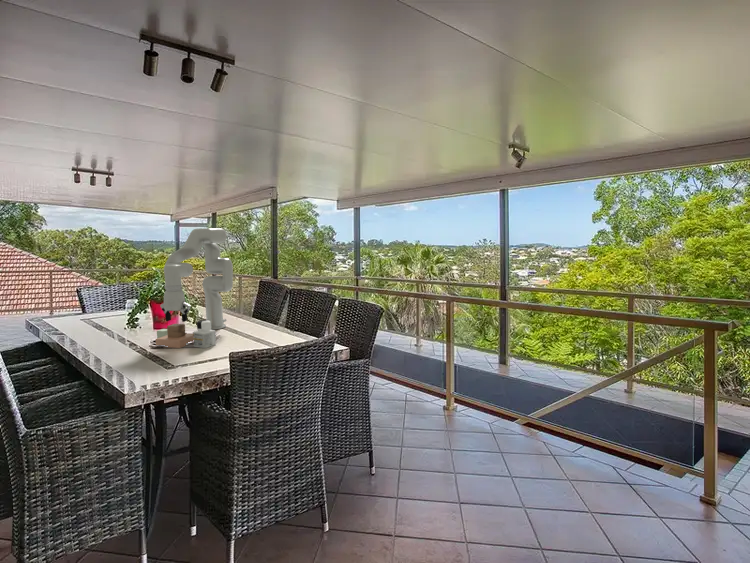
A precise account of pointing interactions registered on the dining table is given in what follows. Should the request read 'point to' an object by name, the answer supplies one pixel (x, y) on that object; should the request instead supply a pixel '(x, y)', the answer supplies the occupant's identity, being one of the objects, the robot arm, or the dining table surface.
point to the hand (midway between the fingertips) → (176, 320)
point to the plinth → (174, 341)
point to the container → (204, 335)
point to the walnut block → (176, 330)
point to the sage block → (162, 333)
